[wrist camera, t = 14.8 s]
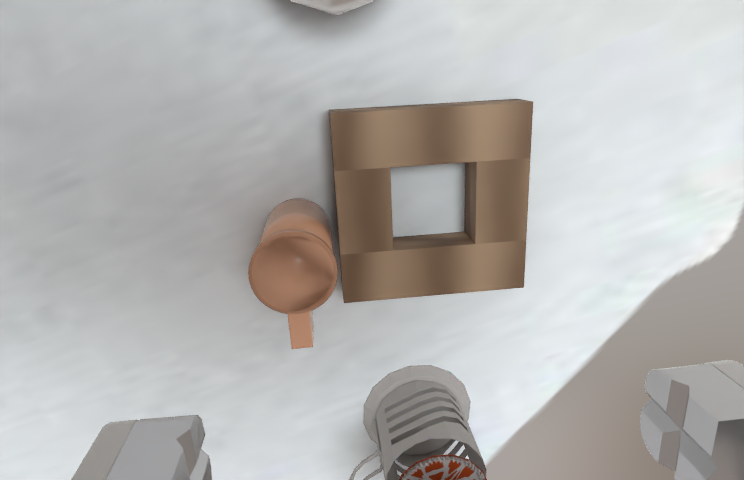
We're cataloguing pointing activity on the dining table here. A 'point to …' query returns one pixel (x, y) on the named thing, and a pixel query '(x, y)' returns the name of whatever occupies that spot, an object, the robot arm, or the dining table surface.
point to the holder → (428, 147)
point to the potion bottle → (333, 5)
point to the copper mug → (295, 265)
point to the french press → (421, 426)
